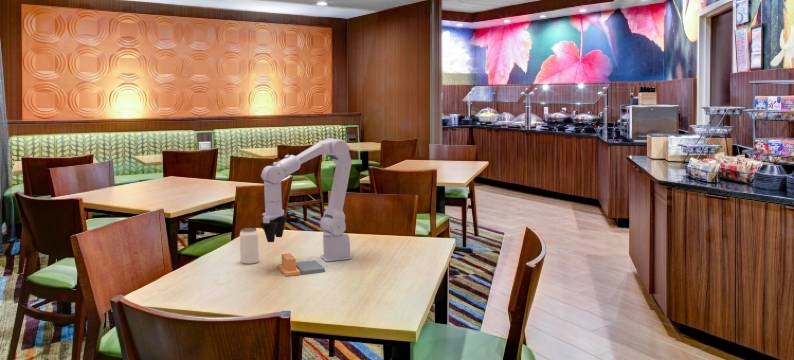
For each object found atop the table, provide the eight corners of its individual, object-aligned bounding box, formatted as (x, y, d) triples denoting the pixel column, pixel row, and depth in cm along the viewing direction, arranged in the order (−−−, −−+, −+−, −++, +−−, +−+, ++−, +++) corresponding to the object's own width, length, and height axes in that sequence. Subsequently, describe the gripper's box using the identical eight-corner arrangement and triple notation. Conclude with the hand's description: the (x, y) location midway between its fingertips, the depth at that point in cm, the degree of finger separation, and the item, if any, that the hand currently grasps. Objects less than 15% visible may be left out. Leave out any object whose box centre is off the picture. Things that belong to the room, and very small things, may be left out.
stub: (292, 265, 216) (291, 251, 215) (300, 274, 205) (300, 259, 204) (277, 267, 214) (277, 253, 213) (285, 276, 203) (285, 261, 202)
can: (254, 264, 218) (253, 231, 216) (237, 263, 219) (236, 231, 218) (262, 260, 224) (260, 227, 223) (245, 259, 225) (244, 227, 224)
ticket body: (315, 263, 219) (315, 259, 219) (324, 271, 208) (324, 268, 208) (293, 265, 216) (293, 262, 216) (301, 274, 205) (301, 270, 205)
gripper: (270, 197, 218) (272, 234, 220) (253, 204, 204) (255, 244, 206) (289, 197, 217) (290, 235, 219) (273, 204, 203) (275, 244, 205)
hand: (275, 239), depth 212 cm, fingers open, 7 cm apart
